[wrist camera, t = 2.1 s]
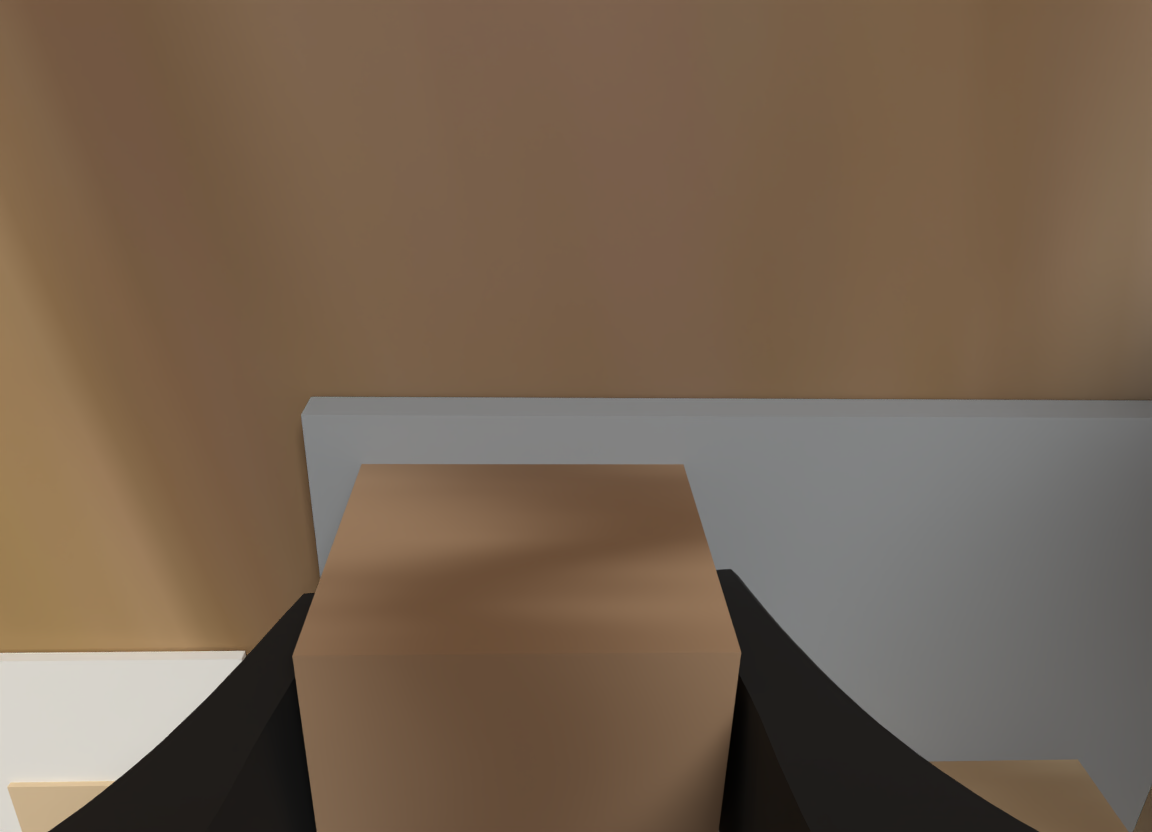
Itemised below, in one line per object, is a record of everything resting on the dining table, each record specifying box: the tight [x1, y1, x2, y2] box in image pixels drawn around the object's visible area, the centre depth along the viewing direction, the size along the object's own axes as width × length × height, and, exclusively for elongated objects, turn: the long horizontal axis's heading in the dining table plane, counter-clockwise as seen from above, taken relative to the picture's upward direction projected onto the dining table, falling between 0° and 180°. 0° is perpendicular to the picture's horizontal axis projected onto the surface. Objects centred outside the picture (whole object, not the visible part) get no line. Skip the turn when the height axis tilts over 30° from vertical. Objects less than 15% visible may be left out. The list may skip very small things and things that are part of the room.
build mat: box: [301, 397, 1152, 832], centre depth 15 cm, size 14×12×1 cm
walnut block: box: [292, 464, 741, 832], centre depth 12 cm, size 4×4×4 cm
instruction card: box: [0, 651, 246, 832], centre depth 16 cm, size 5×7×1 cm
